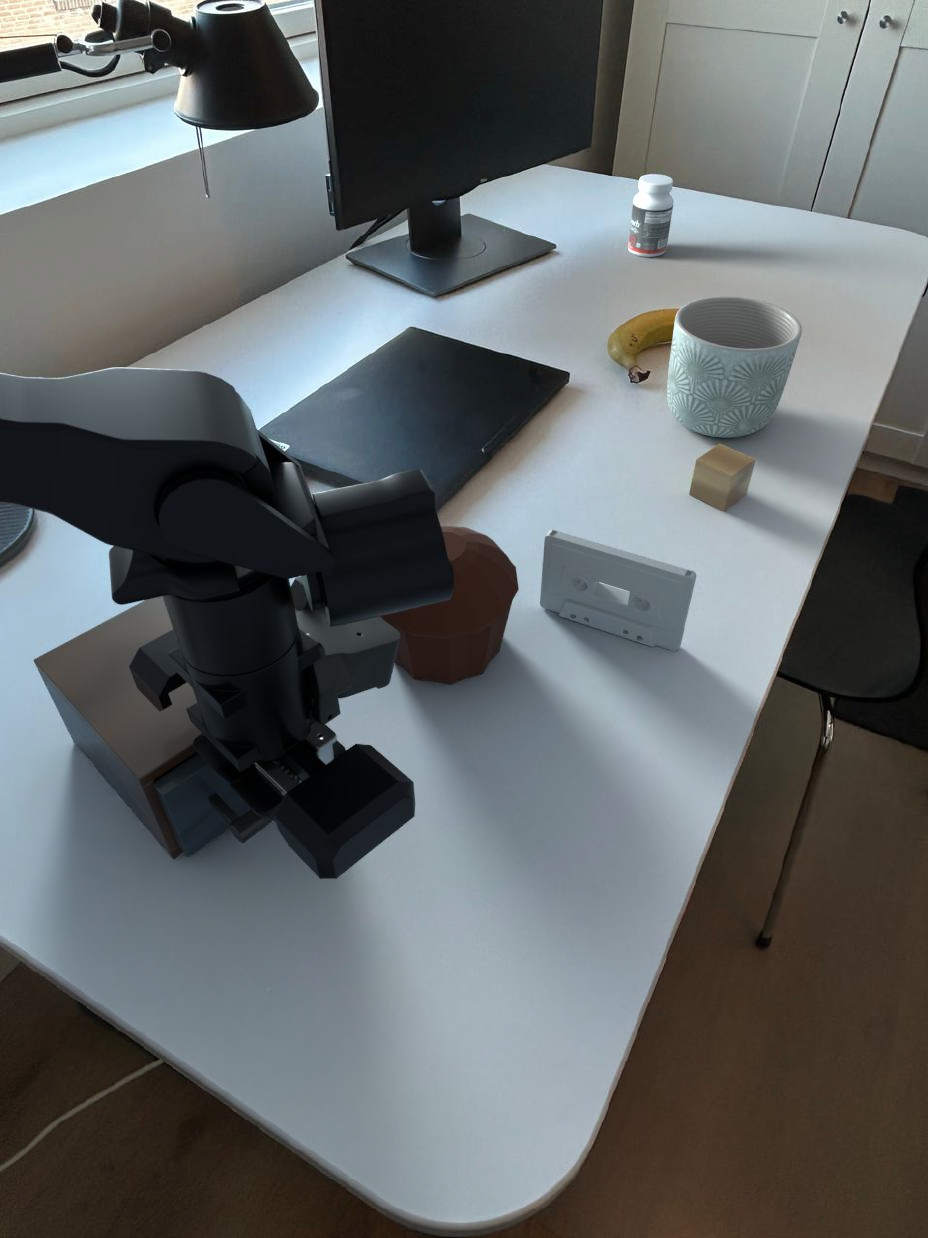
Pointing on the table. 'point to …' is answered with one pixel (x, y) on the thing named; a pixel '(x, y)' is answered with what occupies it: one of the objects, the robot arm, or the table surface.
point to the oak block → (721, 476)
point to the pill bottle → (651, 216)
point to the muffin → (459, 613)
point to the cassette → (616, 590)
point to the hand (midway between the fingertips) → (287, 819)
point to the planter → (730, 364)
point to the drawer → (203, 805)
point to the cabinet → (122, 710)
